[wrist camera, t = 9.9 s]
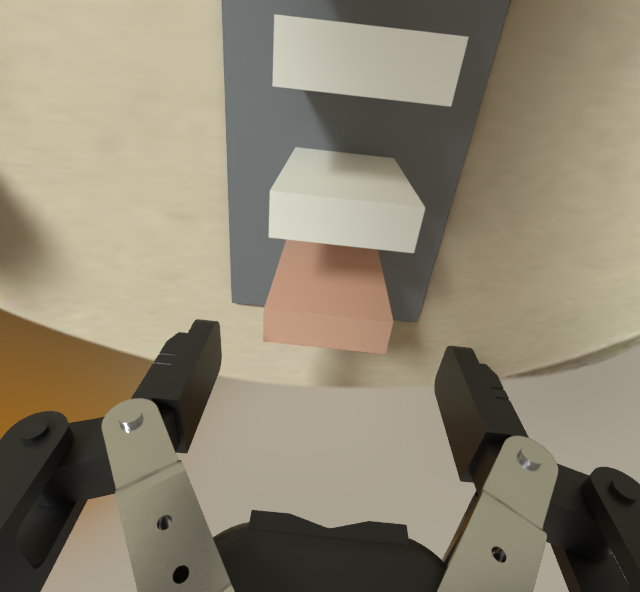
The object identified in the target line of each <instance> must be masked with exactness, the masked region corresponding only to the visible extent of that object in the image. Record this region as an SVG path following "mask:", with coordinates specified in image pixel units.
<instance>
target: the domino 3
mask: <svg viewBox="0 0 640 592" xmlns="http://www.w3.org/2000/svg"><path fill="white" fill-rule="evenodd" d="M393 323H394V322H393V317H392V313H391V308H390V303H389V299H388V294H387V289H386V285H385V280H384V275H383V271H382V266H381V261H380V257H379V252H378V249H370V248H360V247H351V246H342V245H333V244H324V243H314V242H305V241H296V240H287V239H286V242H285V245H284V248H283V251H282V254H281V257H280V261H279V264H278V267H277V270H276V273H275V276H274V279H273V282H272V285H271V289H270V292H269V295H268V298H267V301H266V304H265V307H264V335H263V341H265V342H274V343H284V344H293V345H303V346H312V347H322V348H331V349H341V350H350V351H359V352H369V353H378V354H386V351H387V347H388V343H389V339H390V335H391V331H392V327H393Z"/></svg>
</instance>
